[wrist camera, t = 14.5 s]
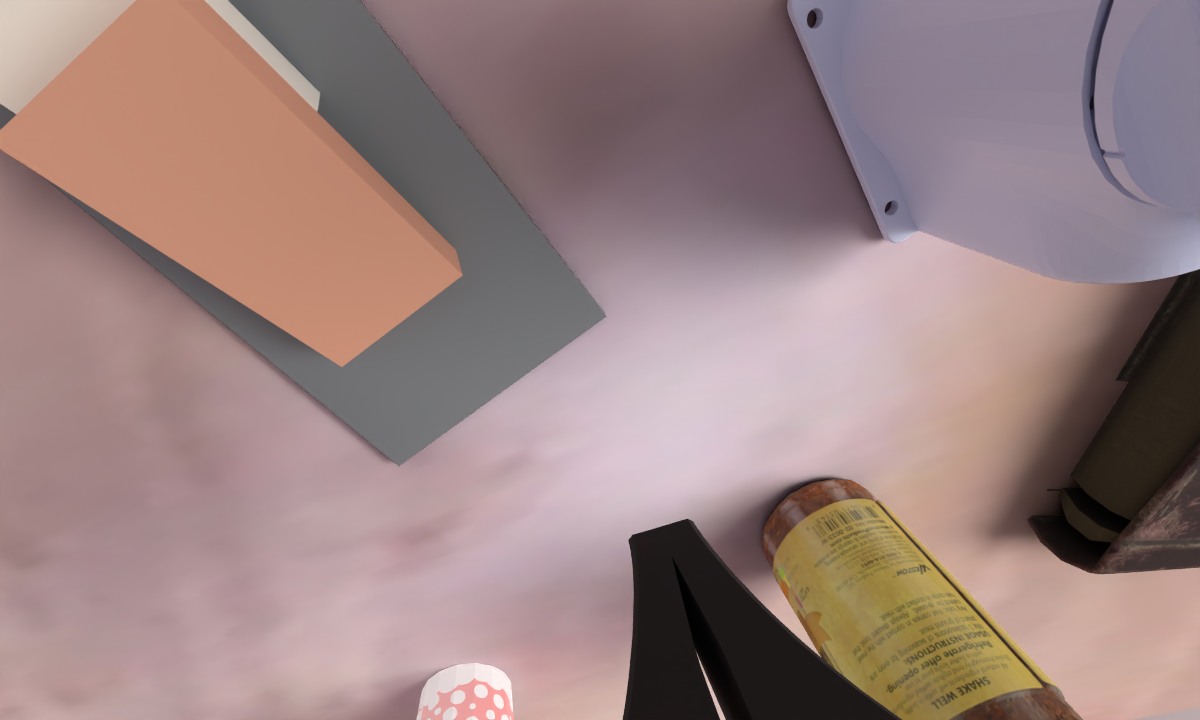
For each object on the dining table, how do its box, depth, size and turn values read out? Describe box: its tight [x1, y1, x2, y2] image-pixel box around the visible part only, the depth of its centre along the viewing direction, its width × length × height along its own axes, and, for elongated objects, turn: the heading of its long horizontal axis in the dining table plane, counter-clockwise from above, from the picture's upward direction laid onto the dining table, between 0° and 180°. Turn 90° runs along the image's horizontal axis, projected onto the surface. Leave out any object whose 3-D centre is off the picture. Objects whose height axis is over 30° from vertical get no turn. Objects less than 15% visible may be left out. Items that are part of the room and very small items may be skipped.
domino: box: [0, 0, 320, 114], centre depth 12 cm, size 2×5×9 cm
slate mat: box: [0, 0, 606, 466], centre depth 14 cm, size 30×10×1 cm, turn 35°
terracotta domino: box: [0, 0, 463, 367], centre depth 15 cm, size 2×5×9 cm
